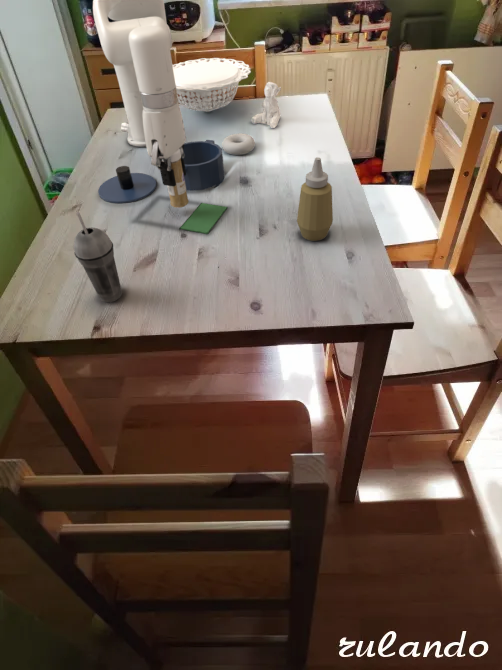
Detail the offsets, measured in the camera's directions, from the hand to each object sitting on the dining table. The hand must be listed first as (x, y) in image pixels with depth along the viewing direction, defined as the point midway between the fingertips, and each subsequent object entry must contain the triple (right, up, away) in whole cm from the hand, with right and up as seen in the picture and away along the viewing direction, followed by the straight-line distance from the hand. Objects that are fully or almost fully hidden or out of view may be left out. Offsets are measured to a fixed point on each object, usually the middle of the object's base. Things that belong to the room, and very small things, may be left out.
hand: (174, 179), depth 109 cm
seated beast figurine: (+24, +34, +44) cm, 61 cm away
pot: (+3, +7, +19) cm, 21 cm away
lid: (-16, +3, +17) cm, 23 cm away
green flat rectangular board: (+1, -7, +7) cm, 10 cm away
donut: (+14, +19, +31) cm, 39 cm away
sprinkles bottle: (0, -5, +5) cm, 7 cm away
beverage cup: (-11, -29, -13) cm, 33 cm away
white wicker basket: (+3, +41, +53) cm, 67 cm away
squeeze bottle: (+33, -14, -2) cm, 35 cm away
